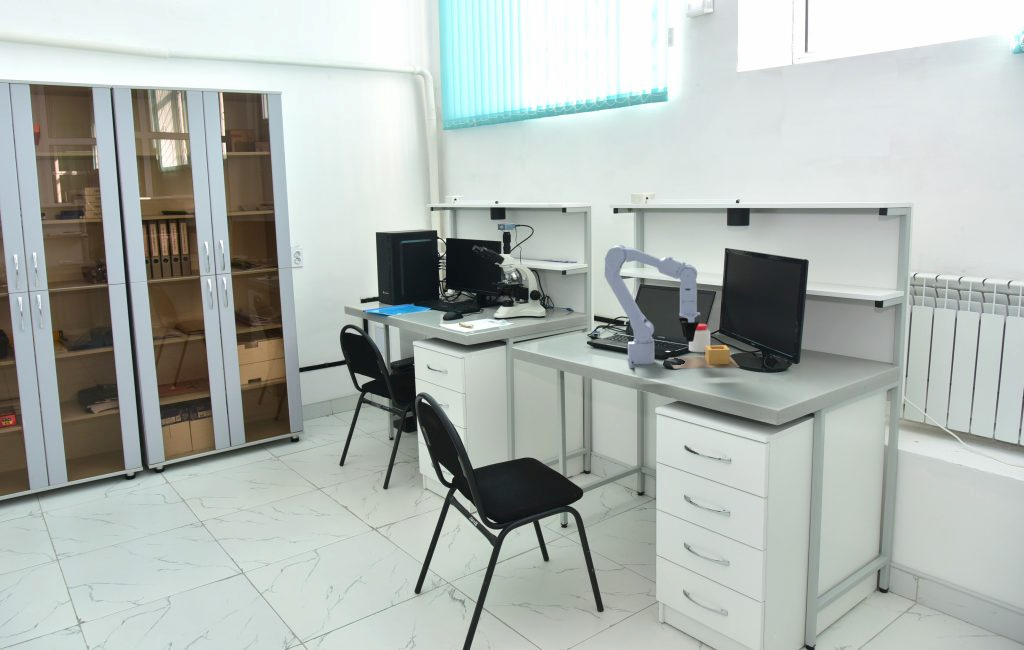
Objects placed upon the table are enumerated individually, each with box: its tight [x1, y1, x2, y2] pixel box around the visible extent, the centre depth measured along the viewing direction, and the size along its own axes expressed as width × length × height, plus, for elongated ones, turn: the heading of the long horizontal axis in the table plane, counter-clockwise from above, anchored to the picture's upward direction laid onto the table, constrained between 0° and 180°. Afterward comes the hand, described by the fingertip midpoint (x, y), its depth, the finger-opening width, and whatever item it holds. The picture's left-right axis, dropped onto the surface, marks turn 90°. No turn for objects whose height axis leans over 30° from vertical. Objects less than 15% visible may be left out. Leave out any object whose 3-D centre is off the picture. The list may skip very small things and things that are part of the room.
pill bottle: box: [688, 323, 711, 353], centre depth 284 cm, size 8×8×11 cm
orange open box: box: [704, 344, 731, 364], centre depth 265 cm, size 7×7×5 cm
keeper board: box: [668, 356, 740, 370], centre depth 265 cm, size 22×16×4 cm
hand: (688, 339), depth 264 cm, fingers open, 7 cm apart
